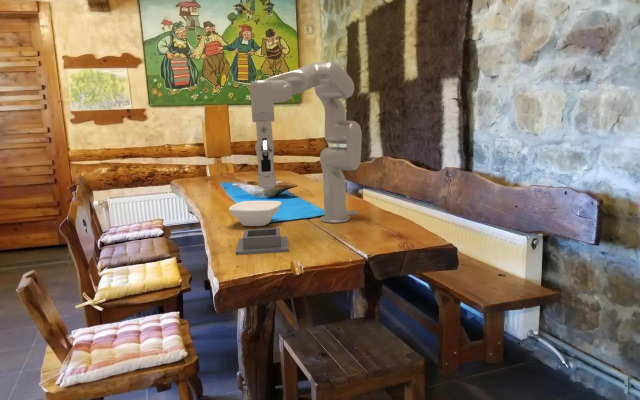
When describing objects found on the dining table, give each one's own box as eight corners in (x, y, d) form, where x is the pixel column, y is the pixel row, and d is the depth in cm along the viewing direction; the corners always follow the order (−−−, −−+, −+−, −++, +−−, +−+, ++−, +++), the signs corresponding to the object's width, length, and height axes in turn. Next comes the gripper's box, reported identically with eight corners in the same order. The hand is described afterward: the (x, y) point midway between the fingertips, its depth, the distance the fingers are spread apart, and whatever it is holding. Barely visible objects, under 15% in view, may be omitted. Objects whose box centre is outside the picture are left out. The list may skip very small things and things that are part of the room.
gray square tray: (286, 238, 181) (286, 225, 180) (288, 251, 164) (287, 237, 163) (238, 241, 179) (238, 228, 178) (235, 254, 163) (234, 240, 162)
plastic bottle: (269, 190, 163) (266, 131, 159) (253, 189, 166) (250, 131, 163) (280, 187, 168) (277, 130, 165) (265, 186, 172) (261, 130, 168)
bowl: (272, 231, 193) (271, 210, 191) (224, 230, 197) (223, 210, 195) (286, 219, 213) (285, 200, 211) (242, 218, 217) (241, 200, 215)
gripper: (275, 117, 155) (277, 173, 158) (273, 116, 172) (276, 167, 175) (251, 118, 154) (255, 174, 158) (252, 117, 171) (255, 168, 174)
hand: (266, 169), depth 166 cm, fingers closed on plastic bottle, 5 cm apart
